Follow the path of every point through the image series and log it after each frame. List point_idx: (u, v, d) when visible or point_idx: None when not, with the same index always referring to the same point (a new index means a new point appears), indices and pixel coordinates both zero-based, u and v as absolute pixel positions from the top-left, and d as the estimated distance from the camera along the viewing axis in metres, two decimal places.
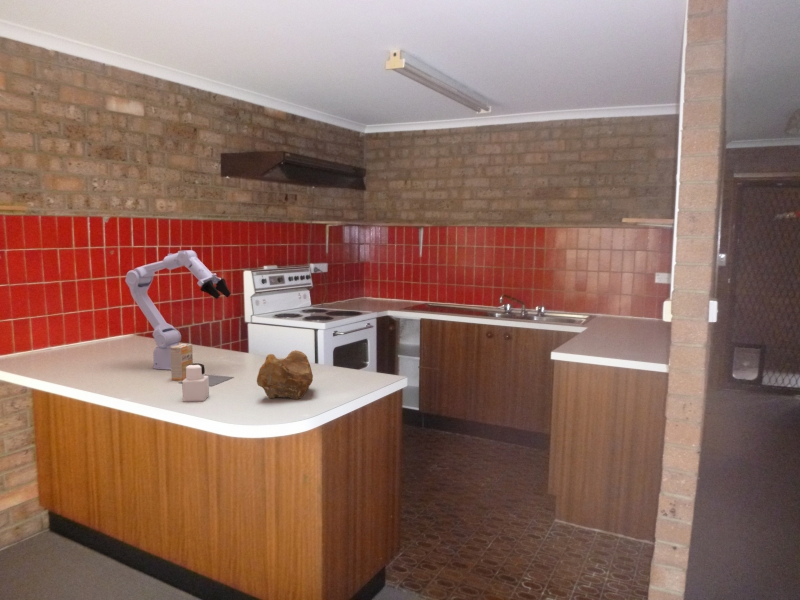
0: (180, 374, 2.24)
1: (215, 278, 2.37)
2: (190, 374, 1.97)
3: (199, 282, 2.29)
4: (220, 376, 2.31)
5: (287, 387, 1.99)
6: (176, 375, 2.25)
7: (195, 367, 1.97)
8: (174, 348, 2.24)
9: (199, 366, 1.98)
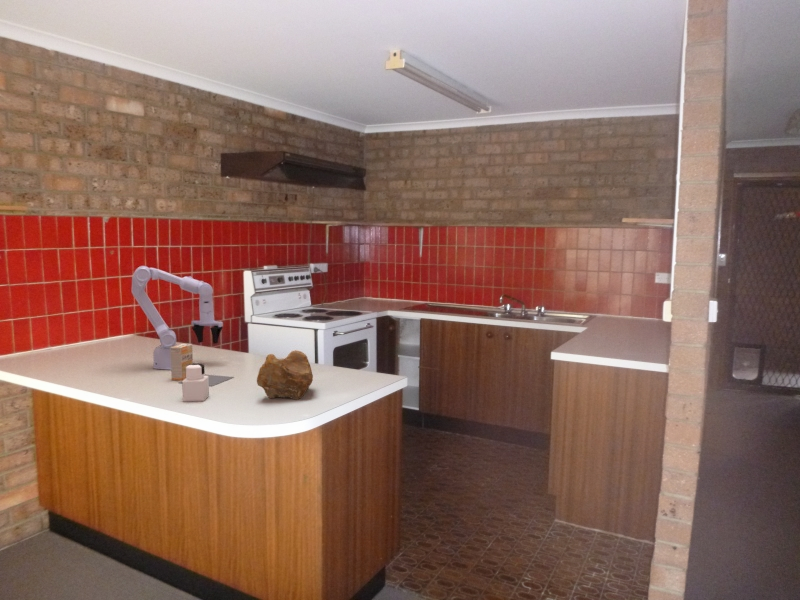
0: (180, 374, 2.24)
1: None
2: (190, 374, 1.97)
3: (221, 323, 2.48)
4: (220, 376, 2.31)
5: (287, 387, 1.99)
6: (176, 375, 2.25)
7: (195, 367, 1.97)
8: (174, 348, 2.24)
9: (199, 366, 1.98)
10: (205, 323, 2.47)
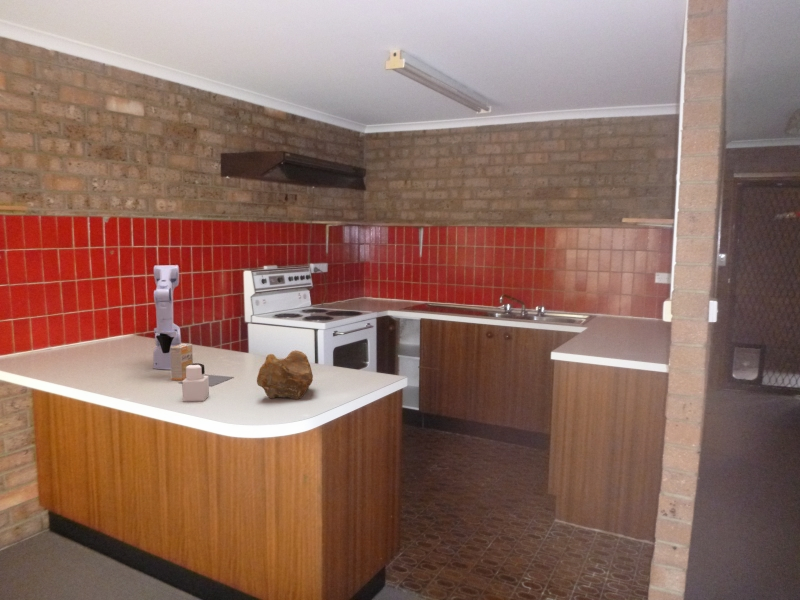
0: (180, 374, 2.24)
1: None
2: (190, 374, 1.97)
3: (174, 333, 2.25)
4: (220, 376, 2.31)
5: (287, 387, 1.99)
6: (176, 375, 2.25)
7: (195, 367, 1.97)
8: (174, 348, 2.24)
9: (199, 366, 1.98)
10: (159, 331, 2.27)
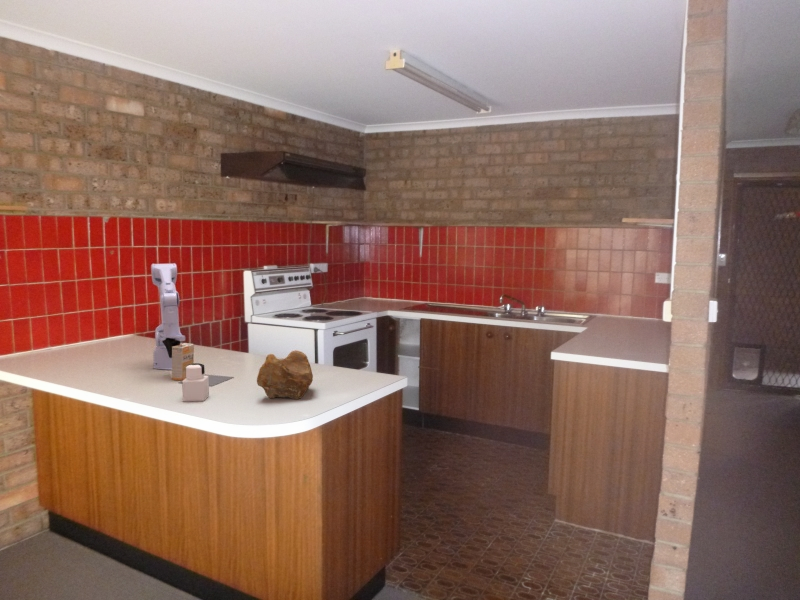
0: (180, 374, 2.24)
1: None
2: (190, 374, 1.97)
3: (183, 337, 2.24)
4: (220, 376, 2.31)
5: (287, 387, 1.99)
6: (176, 375, 2.25)
7: (195, 367, 1.97)
8: (176, 348, 2.23)
9: (199, 366, 1.98)
10: (167, 336, 2.25)
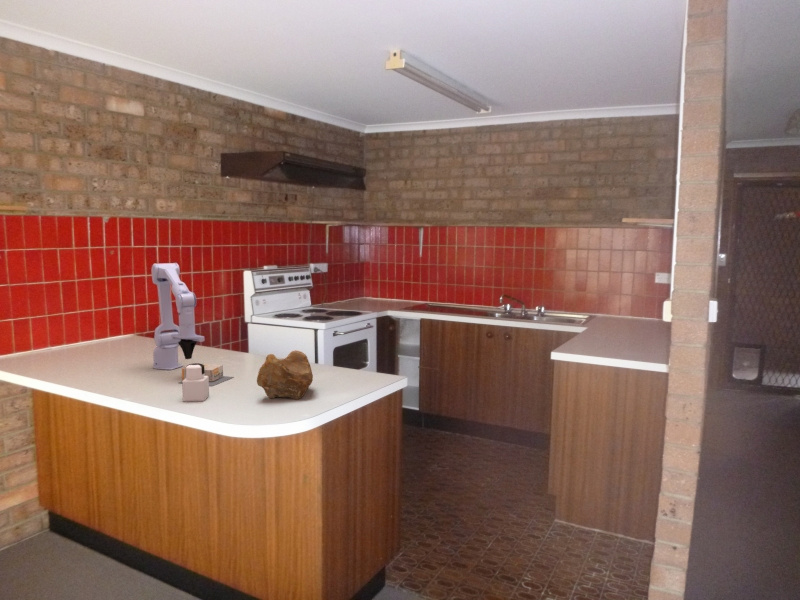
0: None
1: None
2: (190, 374, 1.97)
3: (202, 338, 2.23)
4: None
5: (287, 387, 1.99)
6: None
7: (195, 367, 1.97)
8: (211, 374, 2.22)
9: (199, 366, 1.98)
10: (185, 337, 2.23)
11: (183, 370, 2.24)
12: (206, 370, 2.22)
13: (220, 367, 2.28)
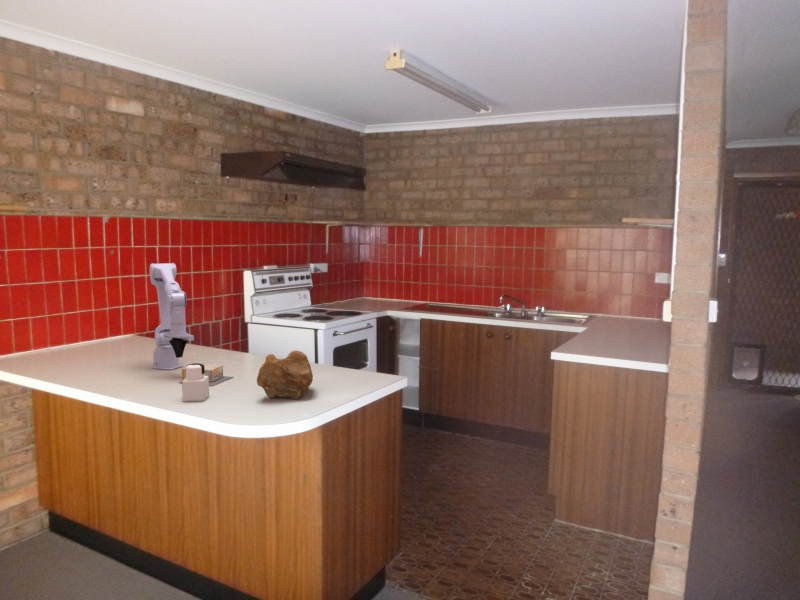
0: None
1: None
2: (190, 374, 1.97)
3: (192, 337, 2.25)
4: None
5: (287, 387, 1.99)
6: None
7: (195, 367, 1.97)
8: (211, 374, 2.22)
9: (199, 366, 1.98)
10: (175, 336, 2.26)
11: (183, 370, 2.24)
12: (206, 370, 2.22)
13: (220, 367, 2.28)
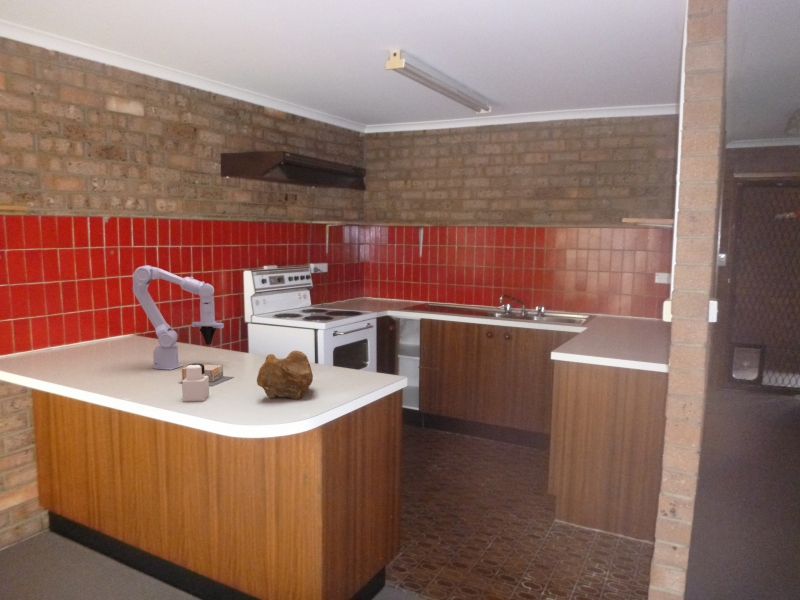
0: None
1: None
2: (190, 374, 1.97)
3: (222, 325, 2.45)
4: None
5: (287, 387, 1.99)
6: None
7: (195, 367, 1.97)
8: (211, 374, 2.22)
9: (199, 366, 1.98)
10: (206, 324, 2.45)
11: (183, 370, 2.24)
12: (206, 370, 2.22)
13: (220, 367, 2.28)
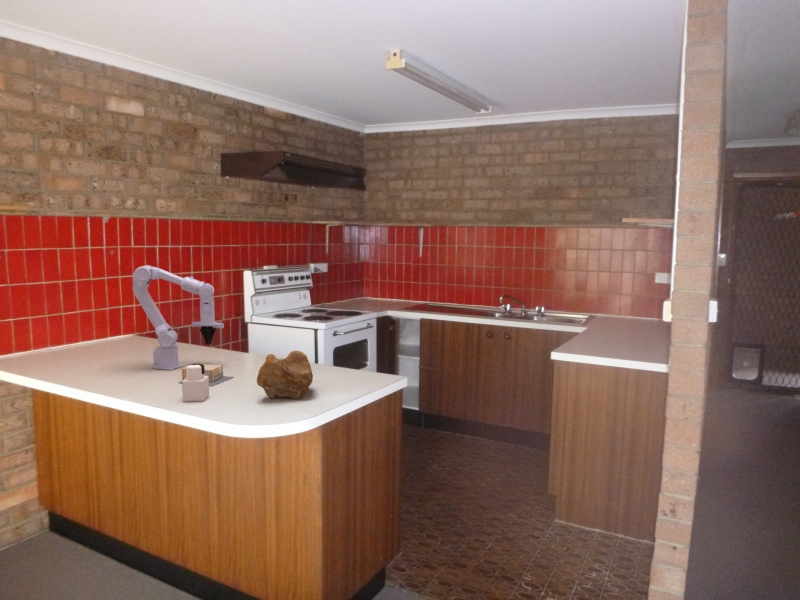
0: None
1: None
2: (190, 374, 1.97)
3: (222, 325, 2.45)
4: None
5: (287, 387, 1.99)
6: None
7: (195, 367, 1.97)
8: (211, 374, 2.22)
9: (199, 366, 1.98)
10: (206, 324, 2.45)
11: (183, 370, 2.24)
12: (206, 370, 2.22)
13: (220, 367, 2.28)
